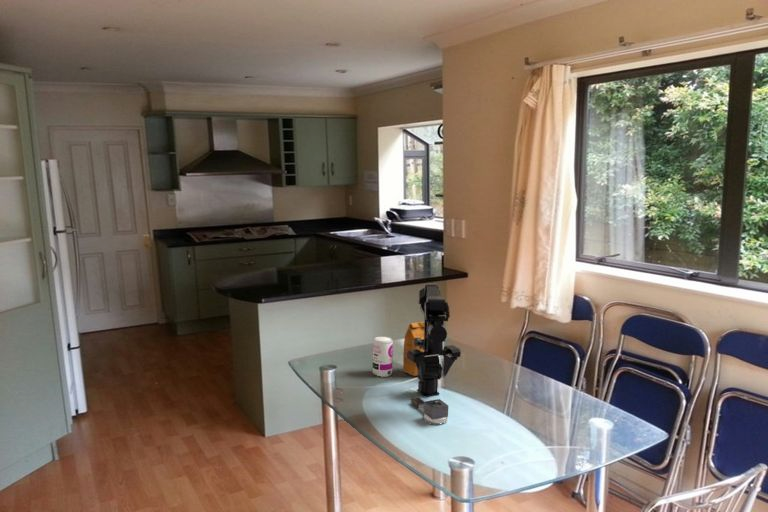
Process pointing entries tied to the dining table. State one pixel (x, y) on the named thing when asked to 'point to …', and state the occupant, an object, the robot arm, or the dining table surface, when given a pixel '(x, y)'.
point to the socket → (436, 409)
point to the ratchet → (420, 405)
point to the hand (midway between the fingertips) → (433, 377)
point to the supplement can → (382, 356)
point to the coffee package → (412, 346)
